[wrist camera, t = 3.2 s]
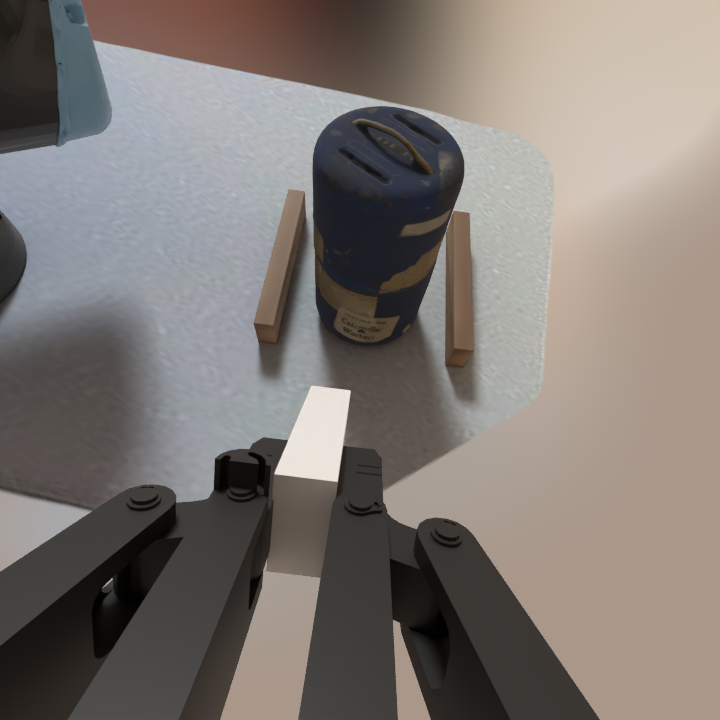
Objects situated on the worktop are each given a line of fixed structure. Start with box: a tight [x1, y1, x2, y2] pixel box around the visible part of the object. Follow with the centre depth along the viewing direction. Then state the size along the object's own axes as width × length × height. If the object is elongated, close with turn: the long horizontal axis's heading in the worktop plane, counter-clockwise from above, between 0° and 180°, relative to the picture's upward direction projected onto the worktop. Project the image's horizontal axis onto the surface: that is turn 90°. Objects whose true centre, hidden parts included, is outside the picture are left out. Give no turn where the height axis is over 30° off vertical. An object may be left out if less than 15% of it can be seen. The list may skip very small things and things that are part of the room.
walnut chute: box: [254, 189, 473, 367], centre depth 41 cm, size 18×16×3 cm
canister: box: [313, 106, 464, 345], centre depth 33 cm, size 10×10×18 cm
